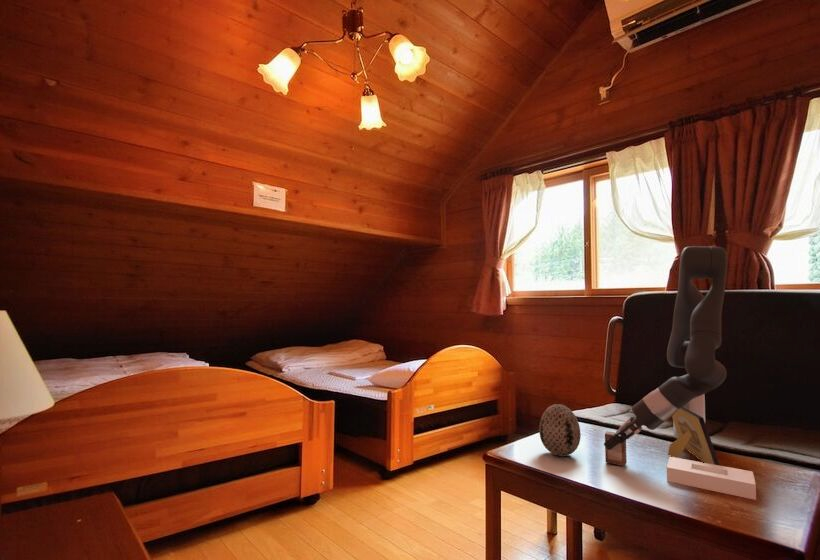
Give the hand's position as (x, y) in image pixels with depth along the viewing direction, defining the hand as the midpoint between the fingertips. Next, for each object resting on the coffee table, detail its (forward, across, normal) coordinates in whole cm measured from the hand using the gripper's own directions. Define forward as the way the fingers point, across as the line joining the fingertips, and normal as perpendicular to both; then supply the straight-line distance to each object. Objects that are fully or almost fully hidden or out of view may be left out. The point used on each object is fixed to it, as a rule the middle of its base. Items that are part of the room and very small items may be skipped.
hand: (607, 445), depth 124 cm
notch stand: (-13, 0, +20) cm, 24 cm away
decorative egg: (+13, +2, -6) cm, 14 cm away
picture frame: (-9, -19, +16) cm, 27 cm away
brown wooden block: (+2, 0, +5) cm, 5 cm away
